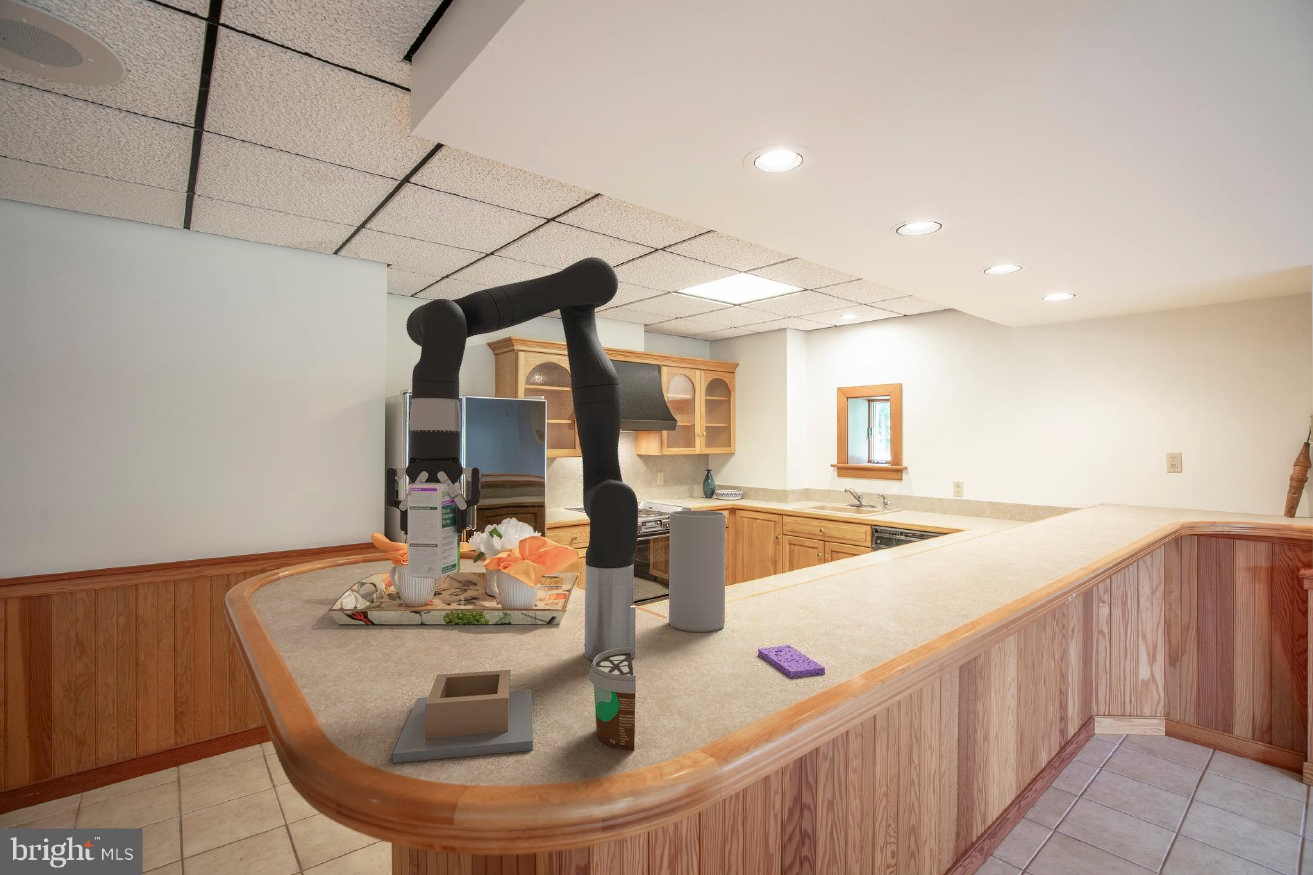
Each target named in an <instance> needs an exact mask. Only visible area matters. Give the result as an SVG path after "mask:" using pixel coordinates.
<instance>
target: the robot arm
mask: <svg viewBox="0 0 1313 875" xmlns="http://www.w3.org/2000/svg"><path fill="white" fill-rule="evenodd" d="M618 288H619V278H618V275H617V272H616V270H615V268H614V267H613V266H612V264H611V263H610V262H608V261H607V260H605V259H603V258H601V257H594V256H593V257H586V258H583V259H580V260H579V261H576V262H574V263H572V264H571V265H569V266H567V267H565V268H563V269H562V270H560V271H557V272H555V273H550V274H548V275H544V276H540V277H537V278H532V279H527V280H522V281H518V282H512V283H508V284H503V285H499V286H495V287H489V288H485V289H482V290H477V291H475V292H474V291H473V292H471V293H469V294H467V295H465V296H462V297H459V298H455V299H454V298H453V299H449V298H437V299H434V300H431V301H428V302H426V303H425V304H422V305H420V306H418V307H416V308H415V309H413V310H412V312H411V313H410V314H409V315H408V317H407V319H406V324H405V325H406V333H407V335H408V337H409V339H410V340H411V341H412V342H413V343H415V344H416V345H417V346H419V347H421V348H420V356H419V360H418V361H417V363H415V365H414V366H413V371H412V375H411V376H412V377H411V403H410V404H411V405H410V412H409V421H408V427H409V453H408V454H409V456H408V457H409V458H408V459H409V460H408V464H407V466H406V467H396V466H391V467H388V468H387V470H386V505H387V507H393V508H395V509H397V510H399V529H400V532H403V533H404V536H408V496H411V488H410V490H409V491H408V490H407V493H406V495H405V496H404V498H403V499H400V497H399V496H400V494H399V492H400V491H399V487H400V486H399V484H400V482H401V481H402V480H403V478H404V477H405V475H406V476H407V478H408V479H409V480H410V481H411V484H413V485H414V484H416V483H429V482H436V483H445V484H447V485H448V484H449V486H448V493H449V494H450V496H451V497H452V498H453V499H454V501H455V502H456V504H457V505H458V507H459V510H458V518H457V533H458V534H460V535H461V534H464V531H466V530H467V528H468V526H469V509H470V508H472V507H474V506H477V505H478V504H480V502H481V479H482V477H481V476H482V475H481V474H482V469H481V467H480V466H474V467H463V465H462V463H461V433H462V432H461V428H462V427H461V426H462V425H461V423H462V420H461V419H462V418H461V416H462V415H461V406H460V372H461V366H462V363H463V360H464V355H465V350H466V345H467V344H466V343H467V339H468V338H471V337H473V336H480V335H484V334H485V335H486V334H490V333H495V332H498V331H501V330H505V329H509V328H512V327H514V326H518V325H521V324H523V323H526V322H528V321H531V320H533V319H537V318H539V317H541V316H544V315H545V316H546V315H547V314H550V313H553V312H555V311H559V312H560V313H559V314H560V318H561V323H562V326H563V333H564V337H565V344H566V349H567V350H566V352H567V358H568V365H569V366H568V367H569V375H570V383H571V384H570V385H571V394H572V395H571V397H572V406H573V410H574V419H575V424H576V429H577V430H576V431H577V436H578V442H579V447H580V451H581V462H582V505H583V506H582V507H583V510H584V513H585V515H586V517H588V519H589V536H588V537H589V538H588V539H589V540H588V546H587V548H586V550H585V568H584V569H585V570H584V571H585V575H584V576H585V578H584V580H585V581H584V584H585V585H584V588H585V589H584V643H583V644H584V645H583V647H584V656H585V658H587V659H588V660H591V661H593V660H594V658H595V657H596V656H597V655H599V654H601V653H603V652H605V651H609V650H613V649H618V648H628V647H632V659H635V658H636V610H637V609H636V605H635V604H634V583H635V582H634V578H635V577H634V574H635V573H634V569H635V568H634V566H635V564H634V563H635V554H636V551H637V547H638V531H639V530H638V529H639V528H638V527H639V504H638V498H637V495H636V493H635V491H634V490H633V488H632V487H631V486H629V485H628V484H627V483H624V480H623V477H622V472H621V466H620V459H619V444H620V443H619V441H620V435H621V434H620V433H621V425H622V416H623V415H622V413H623V412H622V397H621V388H620V381H619V376H618V372H617V370H616V368H615V366H614V365H613V363H612V360H611V359H610V357H609V356H608V354H607V352H606V351H605V349H604V348H603V346H602V343H601V341H600V339H599V335H598V330H597V323H596V322H597V321H596V309H597V308H600V307H603V306H605V305H606V304H608V303H609V302H611V301H612V300H613V299H614V298H615V296H616V294H617V292H618ZM462 475H465V477H466V480H467V481H469V482H470V498H468V499H466V497H465V496H464V494H463V493H462V490H461V489H460V490H459V489H458V490H457V489H456V488H455V486H454V484H455V483H456V482H458V481H459V480H460V478H461V477H462ZM451 489H452V490H451Z"/></svg>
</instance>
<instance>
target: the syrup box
mask: <svg viewBox="0 0 1313 875" xmlns="http://www.w3.org/2000/svg"><path fill="white" fill-rule="evenodd" d="M448 486H449V484H448V485H447V484H445V483H436V482H429V483H416V484H414V485H413V483H409V484H408V485H407V492H408V491H409V490H410V488H411V496H408V535H407V576H408V577H409V578H417V579H429V580H430V579H432V580H433V579H434V580H441V579H443V578H445V577H448V576H450V575H453V574H456V573H459V572H460V571H461V534H458V533H457V518H458V510H459V507H458V505H457V504H456V502H455V501H454V499H453V498H452V497H451V496H450V494H449V493H448ZM454 486H455V488H456V489H457V490H458V489H459V490H461V488H460V487H461V485H460V482H458V481H457V482H456V483H455V484H454ZM451 490H452V489H451Z"/></svg>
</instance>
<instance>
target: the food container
mask: <svg viewBox="0 0 1313 875" xmlns="http://www.w3.org/2000/svg"><path fill="white" fill-rule="evenodd" d="M632 659H633V658H632V647H628V648H618V649H613V650H609V651H605V652H603V653H601V654H599V655H597V656H596V657H595V658H594V660H592V663H591V665H590V669H589V674H588V680H589V681H590V682H591V683H590V684H592V685H593V692H594V709H595V710H594V711H595V727H596V729H595V730H596V738H597V740H598V741H599V743H601V744H603V746H606V747H607V748H612V749H614V750H615V749H616V750H620V751H635V746H636V744H635V737H636V733H635V732H636V731H635V730H636V690H637V689H636V687H637V686H636V680H637V678H636V675H634V667H633V660H632Z"/></svg>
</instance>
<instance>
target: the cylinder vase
mask: <svg viewBox="0 0 1313 875" xmlns="http://www.w3.org/2000/svg"><path fill="white" fill-rule="evenodd" d="M726 515H727V514H726V512H721V511H715V510H714V511H713V510H677V511H676V510H675V511H671V512H669V566H668V568H669V570H668V571H669V573H668V575H669V576H668V579H669V582H668V585H669V586H668V590H669V591H668V592H669V593H668V594H669V596H668V623H669V624H670V626H671V627H673V628H674V629H676V630H679V631H683V632H690V633H710V632H714V631H715V632H716V631H718V630H720V629H722V628H723V627H724V625H725V623H726V527H727V526H726V523H727V522H726V520H727V519H726Z"/></svg>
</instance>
